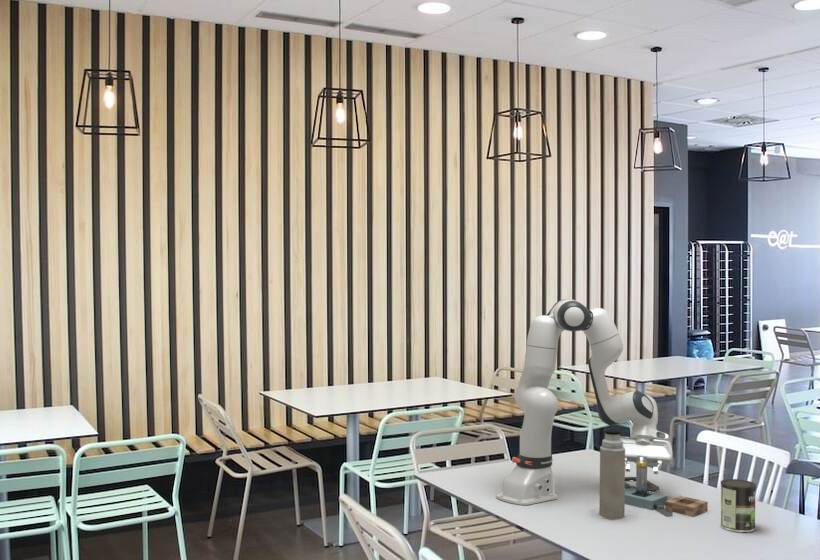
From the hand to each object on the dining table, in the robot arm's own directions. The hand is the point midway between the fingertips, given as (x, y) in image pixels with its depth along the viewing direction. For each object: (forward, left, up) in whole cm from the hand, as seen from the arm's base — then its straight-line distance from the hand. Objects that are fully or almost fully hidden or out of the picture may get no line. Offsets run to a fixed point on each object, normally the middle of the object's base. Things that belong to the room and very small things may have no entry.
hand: (641, 471), depth 292 cm
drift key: (-4, -11, -11) cm, 16 cm away
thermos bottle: (-19, -1, -11) cm, 22 cm away
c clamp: (+17, +14, -12) cm, 25 cm away
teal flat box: (+1, 0, -11) cm, 11 cm away
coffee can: (-1, -35, -11) cm, 36 cm away
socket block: (+4, -15, -11) cm, 19 cm away
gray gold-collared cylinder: (+1, 0, -11) cm, 11 cm away
